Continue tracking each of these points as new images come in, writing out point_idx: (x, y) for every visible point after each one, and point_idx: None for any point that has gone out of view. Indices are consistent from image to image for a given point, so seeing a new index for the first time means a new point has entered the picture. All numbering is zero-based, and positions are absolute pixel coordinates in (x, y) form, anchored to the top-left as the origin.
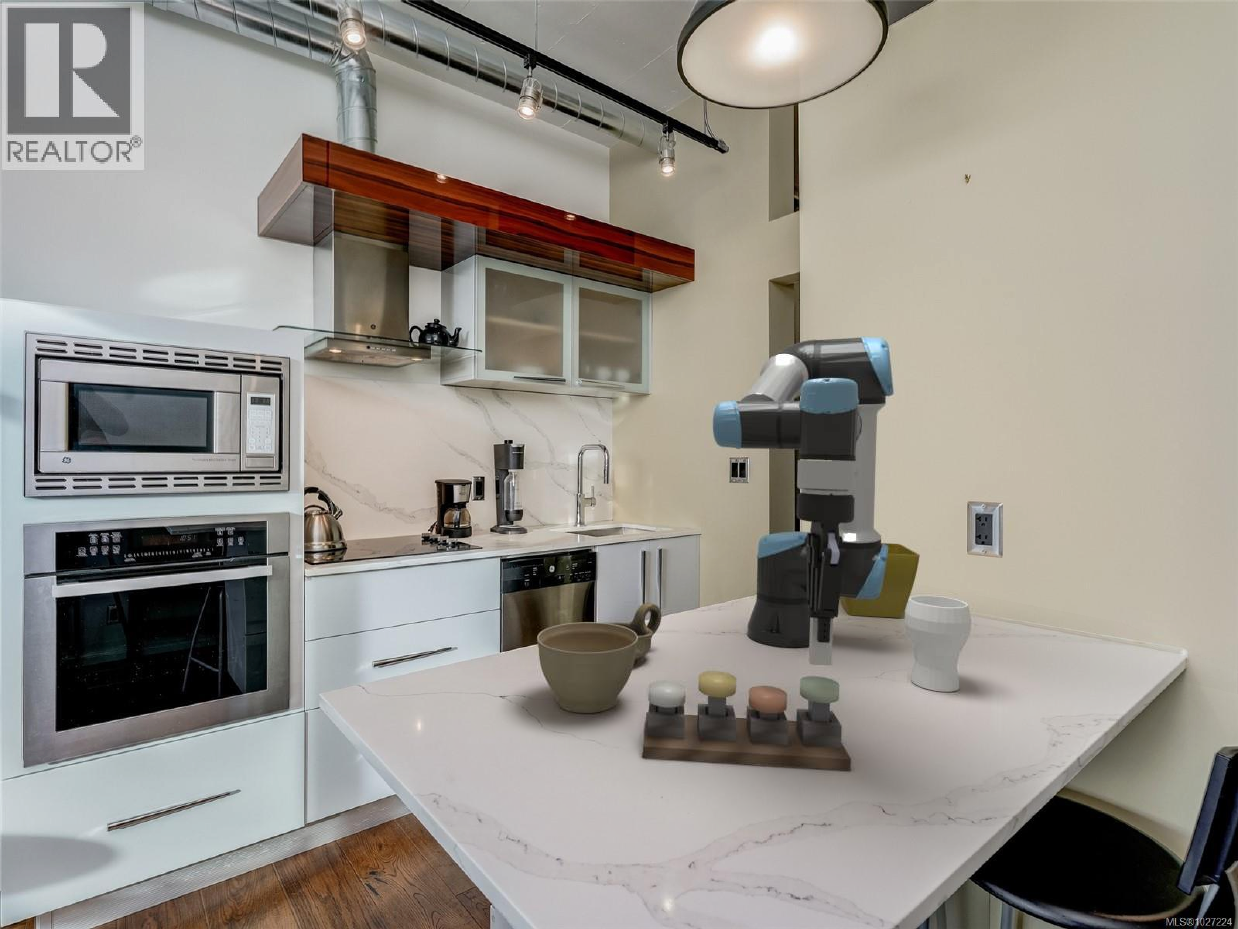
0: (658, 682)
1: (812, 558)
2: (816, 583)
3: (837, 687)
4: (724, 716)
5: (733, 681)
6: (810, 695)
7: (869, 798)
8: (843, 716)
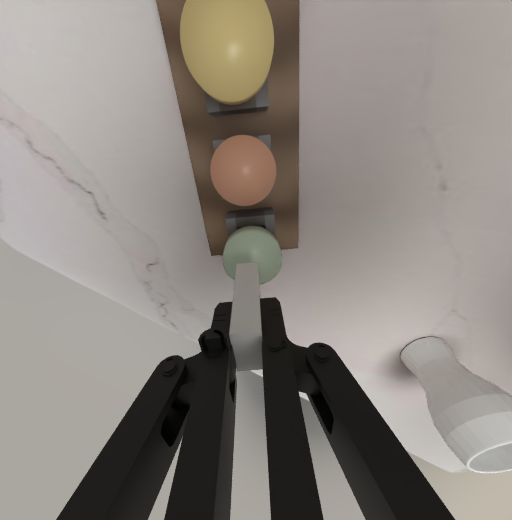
0: None
1: None
2: (182, 485)
3: None
4: None
5: (211, 92)
6: (227, 241)
7: (167, 257)
8: (342, 262)
